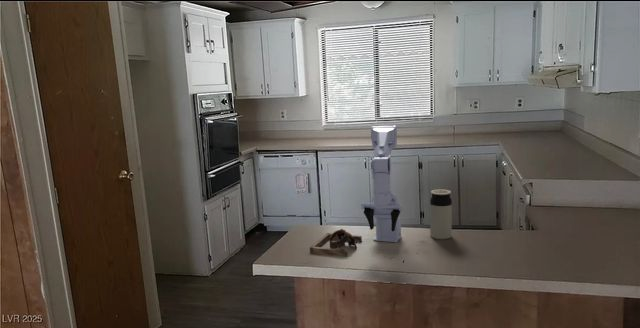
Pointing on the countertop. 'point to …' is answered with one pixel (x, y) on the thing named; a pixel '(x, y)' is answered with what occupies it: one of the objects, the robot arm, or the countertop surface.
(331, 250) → the bar
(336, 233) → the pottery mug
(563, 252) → the countertop surface
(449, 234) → the travel mug
